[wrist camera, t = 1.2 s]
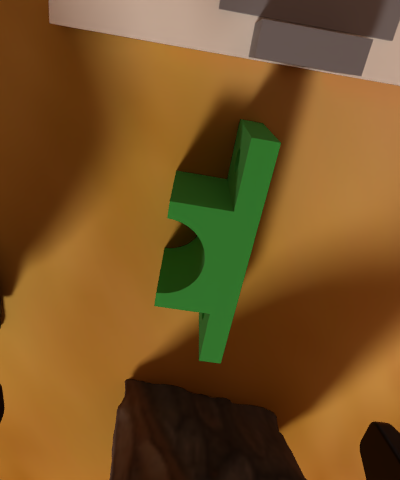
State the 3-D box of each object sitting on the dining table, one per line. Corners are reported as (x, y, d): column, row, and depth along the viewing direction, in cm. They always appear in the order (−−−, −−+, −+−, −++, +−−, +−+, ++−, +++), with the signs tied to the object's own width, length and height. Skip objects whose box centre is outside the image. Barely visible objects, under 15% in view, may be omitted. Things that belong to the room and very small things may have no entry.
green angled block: (185, 108, 17) (181, 123, 13) (262, 122, 18) (281, 141, 13) (156, 300, 22) (146, 356, 18) (217, 309, 22) (221, 365, 18)
